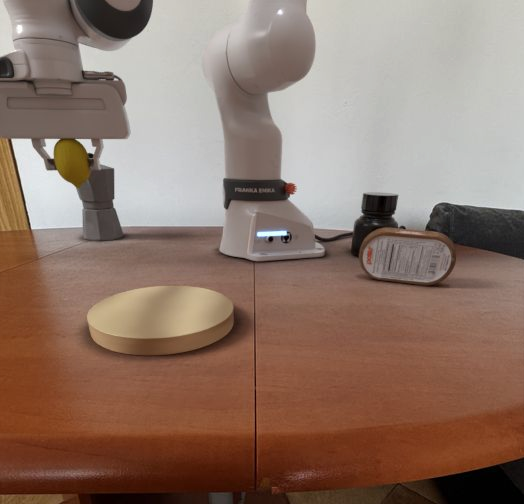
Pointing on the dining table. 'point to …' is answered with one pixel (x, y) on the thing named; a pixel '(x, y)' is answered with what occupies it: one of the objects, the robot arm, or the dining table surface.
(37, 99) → the robot arm
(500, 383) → the dining table surface
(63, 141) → the lemon
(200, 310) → the birch disc
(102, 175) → the coffeepot
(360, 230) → the ink bottle
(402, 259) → the tin
